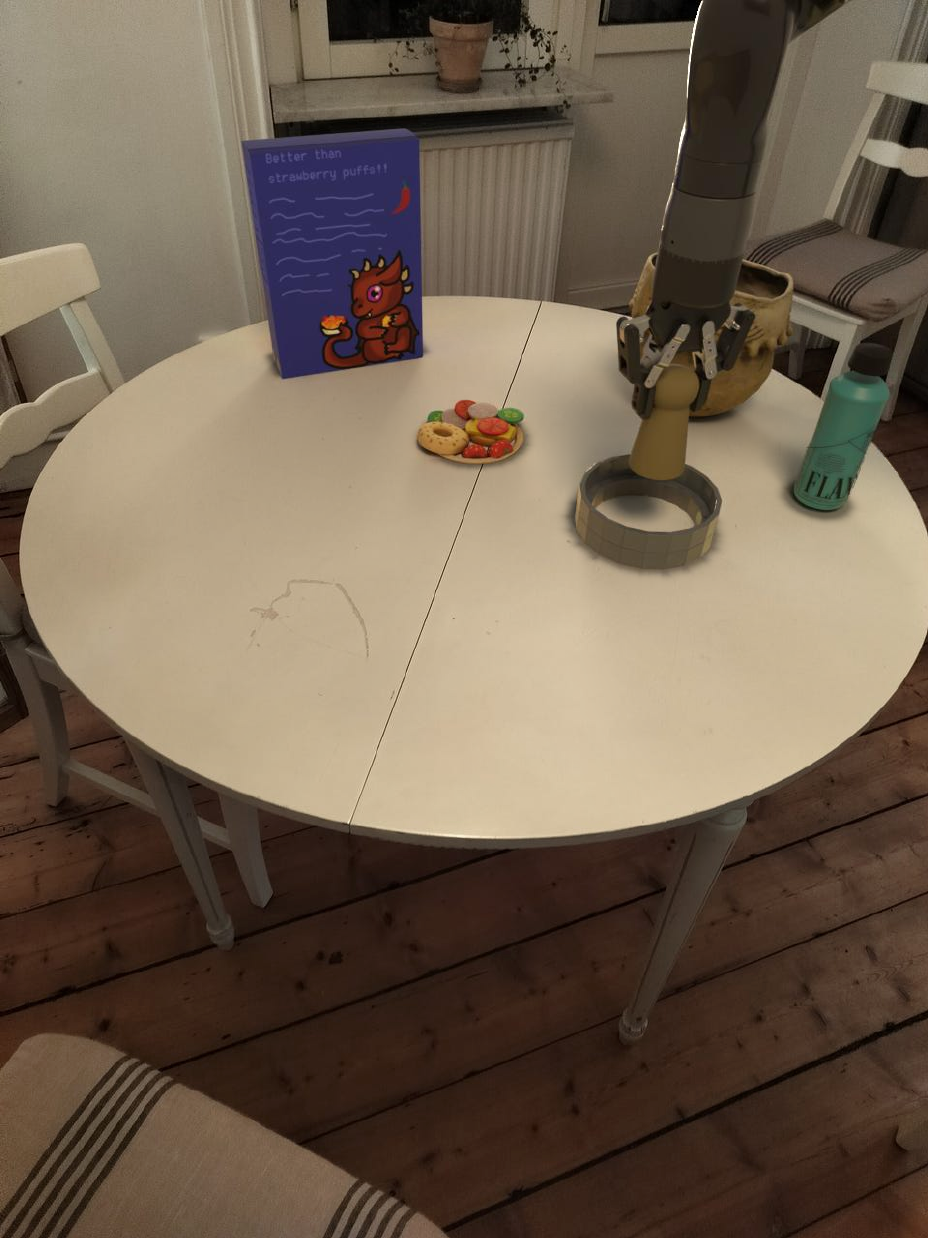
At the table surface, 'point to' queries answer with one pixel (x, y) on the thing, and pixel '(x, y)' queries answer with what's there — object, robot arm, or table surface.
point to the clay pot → (771, 326)
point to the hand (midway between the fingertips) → (667, 411)
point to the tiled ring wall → (640, 545)
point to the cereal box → (339, 247)
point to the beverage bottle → (844, 429)
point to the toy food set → (472, 432)
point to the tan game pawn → (666, 426)
